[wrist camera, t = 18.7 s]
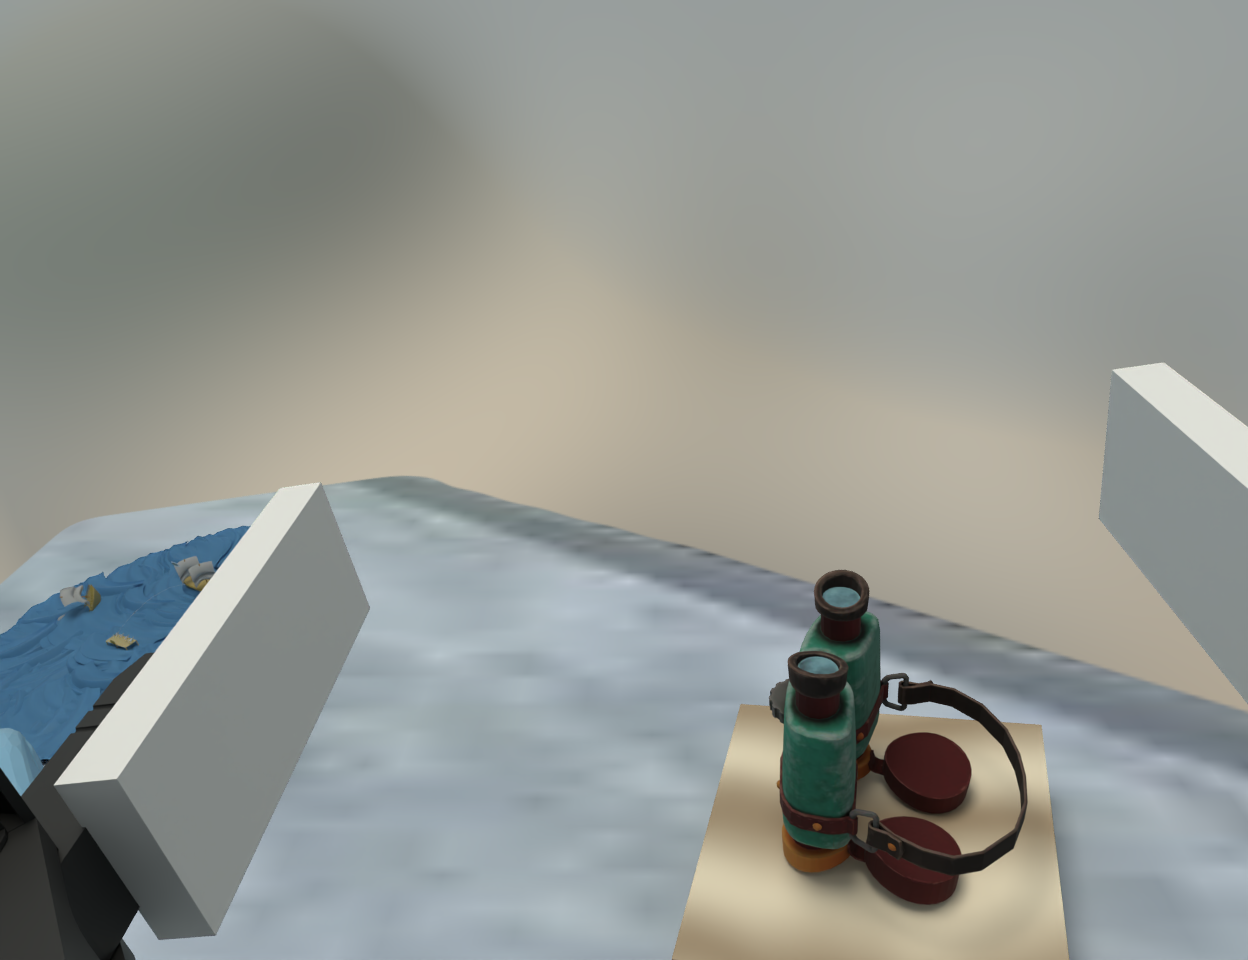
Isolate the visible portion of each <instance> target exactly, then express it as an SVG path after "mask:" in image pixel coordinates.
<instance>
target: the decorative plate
mask: <svg viewBox="0 0 1248 960" xmlns="http://www.w3.org/2000/svg"><path fill="white" fill-rule="evenodd" d="M250 527H251V526H241V527H239V528H234V529H233V528H228V529H225V530H223V531H220V532H217V533H216V534H214V535H211V534H208V535H207V536H205V537H201V536H197V537H196V538H195V539H194V540H191V541H190V542H189V543H187V542H185V543H183V544H178V545H173V546H172V547H171V548H170V549H165V550H164V551H160V552H157V553H150V554H149V555H148V556H145V557H140V558H138V559H137V560H135V561H134V562H132V563H130V564H127V565H123V566H120V567H118V568H117V569H116V570H114V571H113V572H112V573H111V574H109V575H108V577H107V578H105V576H104V572H102V573H101V574H99V575H96V576H92V577H89V578H88V579H87V580H86V581H85V582H83V583H80V584H79V585H75V586H73V587H68V588H64V589H62V590H61V591H60V593H57V594H54V595H52V596H51V597H50V598H48V599H47V600H46V601H44V602H42V603H40V604H37V605H35V606H33V607H31V608H30V609H29V610H28V611H27V612H26V613H25V614H24V615H23V616H22V618H20V619H19V620H18V622H17V623H16V625H14V626H13V627H12V628H11V629H9V630H8V631H7V632H5V633H2V634H1V635H0V729H1V728H11V729H13V730H16V731H19V732H21V734H22V735H23V736H24V737H25V739H26V740H27V741H28V742H29V743H30V744H31V745H32V747H33V748H34V750H35V751H36V753H37V755H38V757H39V759H40V761H43V760H50V759H51V758H52V756H53V755H54V754H55V753H56V751H57V750H58V749H59V748H60V746H61V745H62V744H63V743H64V741H65V740H66V739H67V737H68V736H69V735H70V734H71V733H75V732H76V729H75V727H76V726H77V725H78V724H79V722H80V721H81V720H82V718H83V717H84V716H85V715H86V713H87V712H88V711H93V705H94V703H95V702H96V701H97V700H98V698H99V697H100V696H101V694H102V693H103V692H104V691H105V689H106V688H107V687H108V686H109V684H110V683H111V682H112V681H113V679H114V678H115V677H117V676H118V675H119V674H120V673H122V672H123V671H124V670H125V669H127V668H128V667H129V666H130V665H132V664H133V663H134V662H135V661H137V660H138V659H139V658H140V657H142V656H143V655H144V654H145V653H153V652H155V651H156V650H157V649H158V647H159V646H160V645H161V644H162V642H163V641H164V640H165V638H166V637H167V636H168V634H169V633H170V632H171V630H172V629H173V628H174V626H175V625H176V624H177V623H178V621H179V620H180V619H181V617H182V616H183V615H184V613H185V612H186V611H187V609H188V608H189V607H190V605H191V604H192V603H193V602H194V600H195V599H196V598H197V596H198V595H199V594H200V592H201V591H202V590H203V588H204V587H205V586H206V584H207V583H208V582H209V581H210V579H211V578H212V577H213V575H214V574H215V573H216V571H217V570H218V569H219V567H220V566H221V565H222V563H223V562H224V561H225V560H226V558H227V557H228V556H229V554H230V553H231V552H232V550H233V549H234V548H235V546H236V545H237V544H238V542H239V541H240V540H241V539H242V537H243V536H244V535H245V533H246V532H247V531H248V529H249V528H250ZM186 543H187V544H186Z"/></svg>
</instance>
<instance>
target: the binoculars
mask: <svg viewBox="0 0 1248 960" xmlns="http://www.w3.org/2000/svg"><path fill="white" fill-rule="evenodd" d="M814 596H815V606H816V609H817V611H818V612H819V613H820V614H821V615H820V616H819V617H818V618H817V619H816V620H815V622H814V623H813V624H812V626H811V627H810V629H809V631H808V632H807V634H806V636H805V638H804V641H803V643H802V646H801V649H800V652H797V653H795V654H793V655H791V656H790V657H789V658H788V671H789V679H786V681H784V682H779V683H777V684H776V687H775V688H772V689H771V691H770V696H769V705H770V710H772V715H773V717H774V718H777V719H779V720H780V722H781V723H783V724H784V734H783V752H782V755H781V757H780V780H778V781H777V787H778V788H779V789H780V805H781V808H782V814H783V822H784V823H783V827H782V843H783V852H784V856H785V857H786V859H787V861H788V862H789V863H790V864H791V865H792V866H793V867H795V868H796V869H798V870H801V871H804V872H811V873H812V872H821V871H825V870H829V869H832V868H833V867H835V866H837V865H839V864H841V863H843V862H844V861H845V860H846V859H847V858H848V857H849V856H851V857H853V858H854V859H856V860H858V861H861V862H865V863H866V866H867V868H868V870H869V871H870V873H871V874H872V876H873V877H874V878H875V879H876V880H877V881H878V882H879V883H880V884H881V885H882V886H883V887H884V888H886V889H887V890H888V891H889V892H891V893H893V894H894V895H896V896H897V897H899V898H901V899H904V900H906V901H908V902H912V903H916V904H923V905H931V904H938V903H940V902H943V901H945V900H947V899H948V898H949V897H951V896H952V894H953V893H954V891H955V889H956V886H957V882H958V878H959V875H961V874H967V873H972V872H978V871H982V870H984V869H985V868H986V867H988V866H989V865H991V864H992V863H994V862H995V861H997V860H998V859H999V858H1001V857H1002V856H1004V855H1005V854H1007V853H1008V852H1010V851H1011V850H1012V849H1014V846H1015V844H1016V841H1017V838H1018V836H1019V833H1020V830H1021V828H1022V825H1023V822H1024V819H1025V814H1026V809H1027V804H1028V798H1027V782H1026V774H1025V770H1024V766H1023V762H1022V758H1021V755H1020V752H1019V750H1018V748H1017V746H1016V744H1015V742H1014V740H1013V738H1012V736H1011V735H1010V733H1009V731H1008V729H1007V728H1006V727H1005V726H1004V725H1003V724H1002V723H1001V722H1000V721H999V720H998V719H997V718H996V717H995V716H994V715H993V714H992V713H991V712H990V711H989V710H988V709H987V708H986V707H985V706H984V705H983V704H982V703H980V702H978V701H976V700H975V699H973V698H971V697H969V696H967V695H966V694H964V693H962V692H960V691H958V690H956V689H955V688H950V687H946V686H941V685H937V684H933V682H932V681H931V680H930V681H928V682H924V683H914V682H909V677H908V676H907V674H905V673H898V674H891V675H887V676H885V677H884V678H883V679H882V681H881V680H880V627H879V622H878V619H877V617H876V616H874V615H873V614H871V613H870V612H867V607H868V600H869V587H868V584H867V582H866V581H865V580H864V579H863V577H861V576H860V575H858V574H857V573H854V572H852V571H847V570H835V571H832V572H828V573H826V574H825V575H823V576H822V577H821V578H820V579H819V580H818V581H817V583H816V585H815V589H814ZM900 678H903V679H904V680H903V681H900V682H899V689H898V703H900V704H902V706H900V705H896V704H893V703H890V702H888V701H887V698H888V685H889V683H888V681H889V680H890V679H900ZM923 702H934V703H938V704H943V705H947V706H951V707H953V708H955V709H957V710H959V711H960V712H962V713H964V714H966V715H967V716H969V717H971V718H973V719H974V720H976V721H978V722H979V723H980V724H981V725H982V726H983V727H984V728H985V729H986V730H987V731H988V732H989V733H990V734H991V735H992V736H993V737H994V738H995V739H996V740H997V741H998V742H999V743H1000V744H1001V746H1002V747H1003V749H1004V751H1005V753H1006V755H1007V757H1008V759H1009V761H1010V763H1011V765H1012V767H1013V769H1014V771H1015V775H1016V779H1017V783H1018V787H1019V791H1020V802H1021V812H1020V814H1019V817H1018V820H1017V823H1016V825H1015V828H1014V830H1012V831H1011V832H1009V833H1008V834H1006V835H1005V836H1003V837H1002V838H1000V839H999V840H997V841H996V842H994V843H993V844H991V845H990V846H989V847H987V848H986V849H984V850H983V851H978V852H972V853H967V854H961V850H960V848H959V846H958V844H957V843H956V841H955V840H954V838H953V837H952V836H951V835H950V834H949V833H948V832H946V831H945V830H944V829H943V828H941V827H940V826H938V825H936V824H934V823H932V822H930V821H927V820H925V819H921V818H917V817H908V816H898V817H890V818H885V819H883V820H880V821H879V817H878V815H877V814H876V813H874V812H872V811H867V810H861V809H856V795H857V780H859V779H861V778H863V777H865V776H866V775H867V774H868V773H869V772H870V771H872V772H874V773H876V774H880V775H883V776H884V779H885V781H886V783H887V784H888V786H889V787H890V789H891V790H892V791H893V792H894V793H895V794H896V796H897V797H899V798H900V799H901V800H902V801H903V802H905V803H906V804H908V805H909V806H911V807H913V808H915V809H917V810H920V811H922V812H926V813H931V814H941V813H946V812H950V811H952V810H954V809H956V808H957V807H958V806H959V805H961V804H962V802H963V801H964V799H965V797H966V794H967V790H968V787H969V783H970V780H971V776H972V768H971V764H970V761H969V759H968V757H967V755H966V753H965V752H964V751H963V750H962V749H961V747H960V746H958V745H957V744H956V743H955V742H953V741H952V740H950V739H948V738H946V737H944V736H941V735H939V734H935V733H929V732H917V733H910V734H907V735H903V736H900V737H899V738H897V739H895V740H893V741H892V742H891V743H890V744H889V745H888V747H887V749H886V751H885V755H884V760H883V759H879V758H877V757H876V756H875V754H874V750H871V747H870V745H869V742H870V739H871V737H872V735H873V732H874V730H875V727H876V725H877V723H878V718H879V708H880V706H881V704H882V703H883V704H884V705H885V706H886V707H889V708H893V709H896V710H899V711H903V710H905V709H906V708H907V704H917V703H923ZM857 815H861V816H865V817H870V818H872V819H873V820H871V821H870V822H869V823H868V835H867V840H866V843H865V842H864V841H862V840H860V839H859V838H858V837H857V836H856V834H857V832H858V817H857Z"/></svg>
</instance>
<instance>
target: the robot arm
mask: <svg viewBox="0 0 1248 960" xmlns="http://www.w3.org/2000/svg"><path fill="white" fill-rule="evenodd" d="M1099 519H1100V520H1101V521H1102V523H1103V524H1104V525H1105V527H1106V528H1107V529H1108V530H1109V532H1110V533H1111V534H1112V536H1113V537H1114V538H1115V539H1116V540H1117V542H1118V543H1119V544H1120V545H1121V547H1122V548H1123V549H1124V550H1125V552H1126V553H1127V554H1128V555H1129V557H1130V558H1131V559H1132V560H1133V562H1134V563H1135V564H1136V565H1137V566H1138V568H1139V569H1140V570H1141V572H1142V573H1143V574H1144V575H1145V576H1146V578H1147V579H1148V580H1149V581H1150V583H1151V584H1152V585H1153V587H1154V588H1155V589H1156V590H1157V592H1158V593H1159V594H1160V595H1161V596H1162V598H1163V599H1164V600H1165V601H1166V603H1167V604H1168V605H1169V606H1170V608H1171V609H1172V610H1173V611H1174V613H1175V614H1176V615H1177V616H1178V618H1179V619H1180V620H1181V621H1182V623H1183V624H1184V625H1185V626H1186V628H1187V629H1188V630H1189V631H1190V633H1191V634H1192V635H1193V636H1194V638H1195V639H1196V640H1197V641H1198V642H1199V644H1200V645H1201V646H1202V648H1203V649H1204V650H1205V651H1206V653H1207V654H1208V655H1209V656H1210V657H1211V659H1212V660H1213V661H1214V662H1215V664H1216V665H1217V666H1218V667H1219V669H1220V670H1221V671H1222V672H1223V673H1224V675H1225V676H1226V677H1227V679H1228V680H1229V681H1230V682H1231V684H1232V685H1233V686H1234V687H1235V689H1236V690H1237V691H1238V692H1239V694H1240V695H1241V696H1242V697H1243V699H1244V700H1245V701H1246V702H1247V704H1248V427H1247V426H1246V425H1244V424H1243V423H1242V422H1241V421H1239V420H1238V419H1237V418H1235V417H1234V416H1233V415H1231V414H1230V413H1229V412H1227V411H1226V410H1225V409H1224V408H1222V407H1221V406H1220V405H1218V404H1217V403H1215V402H1214V401H1213V400H1212V399H1211V398H1209V397H1208V396H1207V395H1205V394H1204V393H1203V392H1201V391H1200V390H1199V389H1198V388H1196V387H1195V386H1194V385H1192V384H1191V383H1190V382H1188V381H1187V380H1186V379H1185V378H1183V377H1182V376H1180V375H1179V374H1178V373H1177V372H1175V371H1174V370H1173V369H1172V368H1170V367H1169V366H1168V365H1166V364H1165V363H1157V364H1150V365H1144V366H1136V367H1129V368H1122V369H1115V370H1112V376H1111V387H1110V399H1109V410H1108V421H1107V432H1106V443H1105V455H1104V466H1103V478H1102V488H1101V500H1100V511H1099ZM369 610H370V606H369V604H368V601H367V599H366V596H365V594H364V591H363V588H362V586H361V583H360V581H359V578H358V576H357V573H356V571H355V568H354V565H353V563H352V560H351V558H350V555H349V553H348V550H347V547H346V545H345V542H344V540H343V537H342V535H341V532H340V530H339V527H338V524H337V522H336V519H335V517H334V514H333V512H332V509H331V507H330V504H329V501H328V499H327V496H326V494H325V491H324V489H323V486H322V484H321V482H320V483H313V484H305V485H298V486H291V487H284V488H280V489H279V490H278V491H277V493H276V494H275V495H274V496H273V498H272V499H271V500H270V502H269V503H268V504H267V506H266V507H265V508H264V510H263V511H262V512H261V514H260V515H259V516H258V517H257V519H256V520H255V521H254V523H253V524H252V525H251V527H250V528H249V529H248V531H247V532H246V533H245V535H244V536H243V537H242V539H241V540H240V541H239V542H238V544H237V545H236V546H235V548H234V549H233V550H232V552H231V553H230V554H229V556H228V557H227V558H226V560H225V561H224V562H223V563H222V565H221V566H220V567H219V569H218V570H217V571H216V573H215V574H214V575H213V577H212V578H211V579H210V581H209V582H208V583H207V584H206V586H205V587H204V588H203V590H202V591H201V592H200V594H199V595H198V596H197V598H196V599H195V600H194V602H193V603H192V604H191V605H190V607H189V608H188V609H187V611H186V612H185V613H184V615H183V616H182V617H181V619H180V620H179V621H178V623H177V624H176V625H175V626H174V628H173V629H172V630H171V632H170V633H169V634H168V636H167V637H166V638H165V640H164V641H163V642H162V644H161V645H160V646H159V647H158V649H157V650H156V651H155V652H153V653H145V654H144V655H143V656H142V657H140V658H139V659H138V660H137V661H135V662H134V663H133V664H132V665H130V666H129V667H128V668H127V669H125V670H124V671H123V672H122V673H120V674H119V675H118V676H117V677H115V678H114V679H113V681H112V682H111V683H110V684H109V686H108V687H107V688H106V689H105V691H104V692H103V693H102V694H101V696H100V697H99V698H98V700H97V701H96V702H95V703H94V705H93V711H88V712H87V713H86V715H85V716H84V717H83V718H82V720H81V721H80V722H79V724H78V725H77V726H76V727H75V729H76V732H75V733H71V734H70V735H69V736H68V737H67V739H66V740H65V741H64V743H63V744H62V745H61V746H60V748H59V749H58V750H57V751H56V753H55V754H54V755H53V756H52V758H51V759H50V760H49V761H48V763H47V764H46V765H45V767H43V765H42V763H41V761H40V759H39V757H38V755H37V753H36V751H35V750H34V748H33V747H32V745H31V744H30V743H29V742H28V741H27V740H26V739H25V737H24V736H23V735H22V734H21V732H19V731H16V730H13V729H11V728H1V729H0V960H135V957H134V954H133V953H132V952H131V950H130V949H129V947H128V946H127V945H126V943H125V942H124V940H123V939H122V937H123V936H124V934H125V932H126V930H127V929H128V927H129V925H130V923H131V922H132V920H133V918H134V916H135V915H136V913H137V911H138V910H139V911H140V913H141V914H142V916H143V917H144V919H145V920H146V922H147V923H148V925H149V926H150V928H151V929H152V931H153V932H154V933H155V935H156V936H157V938H158V939H159V940H164V939H177V938H190V937H202V936H215V935H216V934H217V932H218V929H219V927H220V925H221V923H222V921H223V919H224V917H225V915H226V912H227V910H228V908H229V906H230V904H231V902H232V900H233V898H234V896H235V893H236V891H237V889H238V887H239V885H240V883H241V881H242V879H243V876H244V874H245V872H246V870H247V868H248V866H249V864H250V862H251V860H252V857H253V855H254V853H255V851H256V849H257V847H258V845H259V843H260V840H261V838H262V836H263V834H264V832H265V830H266V828H267V826H268V824H269V821H270V819H271V817H272V815H273V813H274V811H275V809H276V807H277V804H278V802H279V800H280V798H281V796H282V794H283V792H284V790H285V788H286V785H287V783H288V781H289V779H290V777H291V775H292V773H293V771H294V768H295V766H296V764H297V762H298V760H299V758H300V756H301V754H302V752H303V749H304V747H305V745H306V743H307V741H308V739H309V737H310V735H311V732H312V730H313V728H314V726H315V724H316V722H317V720H318V718H319V716H320V713H321V711H322V709H323V707H324V705H325V703H326V701H327V699H328V696H329V694H330V692H331V690H332V688H333V686H334V684H335V682H336V680H337V677H338V675H339V673H340V671H341V669H342V667H343V665H344V663H345V660H346V658H347V656H348V654H349V652H350V650H351V648H352V646H353V644H354V641H355V639H356V637H357V635H358V633H359V631H360V629H361V627H362V624H363V622H364V620H365V618H366V616H367V614H368V612H369Z"/></svg>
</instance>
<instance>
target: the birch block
mask: <svg viewBox="0 0 1248 960" xmlns="http://www.w3.org/2000/svg"><path fill="white" fill-rule="evenodd" d="M1001 723H1002V724H1003V725H1004V726H1005V727H1006V728H1007V729H1008V731H1009V733H1010V735H1011V736H1012V738H1013V740H1014V742H1015V744H1016V746H1017V748H1018V750H1019V752H1020V755H1021V758H1022V762H1023V766H1024V770H1025V774H1026V782H1027V798H1028V804H1027V809H1026V814H1025V819H1024V822H1023V825H1022V828H1021V830H1020V833H1019V836H1018V838H1017V841H1016V844H1015V846H1014V849H1012V850H1011V851H1010V852H1008V853H1007V854H1005V855H1004V856H1002V857H1001V858H999V859H998V860H997V861H995V862H994V863H992V864H991V865H989V866H988V867H986V868H985V869H984V870H982V871H978V872H972V873H967V874H961V875H959V878H958V882H957V886H956V889H955V891H954V893H953V894H952V896H951V897H949V898H948V899H947V900H945V901H943V902H940V903H938V904H931V905H923V904H916V903H912V902H908V901H906V900H904V899H901V898H899V897H897V896H896V895H894V894H893V893H891V892H889V891H888V890H887V889H886V888H884V887H883V886H882V885H881V884H880V883H879V882H878V881H877V880H876V879H875V878H874V877H873V876H872V874H871V873H870V871H869V870H868V868H867V866H866V863H865V862H861V861H858V860H856V859H854V858H853V857H851V856H849V857H848V858H847V859H846V860H845V861H844V862H843V863H841V864H839V865H837V866H835V867H833V868H832V869H829V870H825V871H821V872H812V873H811V872H804V871H801V870H798V869H796V868H795V867H793V866H792V865H791V864H790V863H789V862H788V861H787V859H786V857H785V856H784V852H783V843H782V827H783V823H784V822H783V814H782V808H781V805H780V789H779V788H778V787H777V781H778V780H780V757H781V755H782V752H783V734H784V724H783V723H781V722H780V720H779V719H777V718H774V717H773V715H772V710H770V706H760V705H745V704H741V705H740V709H739V712H738V716H737V720H736V723H735V727H734V731H733V734H732V738H731V742H730V746H729V749H728V753H727V757H726V760H725V764H724V768H723V771H722V775H721V779H720V783H719V786H718V790H717V794H716V797H715V801H714V805H713V808H712V812H711V816H710V820H709V823H708V827H707V831H706V834H705V838H704V842H703V845H702V849H701V853H700V857H699V860H698V864H697V868H696V871H695V875H694V879H693V882H692V886H691V890H690V894H689V897H688V901H687V905H686V908H685V912H684V916H683V919H682V923H681V927H680V930H679V934H678V938H677V942H676V945H675V949H674V953H673V956H672V960H1069V954H1068V945H1067V937H1066V928H1065V920H1064V912H1063V903H1062V895H1061V886H1060V878H1059V870H1058V861H1057V853H1056V844H1055V836H1054V827H1053V819H1052V811H1051V802H1050V794H1049V785H1048V777H1047V768H1046V760H1045V752H1044V743H1043V735H1042V726H1041V725H1035V724H1020V723H1006V722H1001ZM917 732H929V733H935V734H939V735H941V736H944V737H946V738H948V739H950V740H952V741H953V742H955V743H956V744H957V745H958V746H960V747H961V749H962V750H963V751H964V752H965V753H966V755H967V757H968V759H969V761H970V764H971V768H972V776H971V780H970V783H969V787H968V790H967V794H966V797H965V799H964V801H963V802H962V804H961V805H959V806H958V807H957V808H956V809H954V810H952V811H950V812H946V813H941V814H931V813H926V812H922V811H920V810H917V809H915V808H913V807H911V806H909V805H908V804H906V803H905V802H903V801H902V800H901V799H900V798H899V797H897V796H896V794H895V793H894V792H893V791H892V790H891V789H890V787H889V786H888V784H887V783H886V781H885V779H884V776H883V775H880V774H876V773H874V772H872V771H870V772H869V773H868V774H867V775H866V776H865V777H863V778H861V779H859V780H857V795H856V809H861V810H867V811H872V812H874V813H876V814H877V815H878V817H879V821H880V820H883V819H885V818H890V817H898V816H908V817H917V818H921V819H925V820H927V821H930V822H932V823H934V824H936V825H938V826H940V827H941V828H943V829H944V830H945V831H946V832H948V833H949V834H950V835H951V836H952V837H953V838H954V840H955V841H956V843H957V844H958V846H959V848H960V850H961V854H967V853H972V852H978V851H983V850H984V849H986V848H987V847H989V846H990V845H991V844H993V843H994V842H996V841H997V840H999V839H1000V838H1002V837H1003V836H1005V835H1006V834H1008V833H1009V832H1011V831H1012V830H1014V828H1015V825H1016V823H1017V820H1018V817H1019V814H1020V812H1021V802H1020V791H1019V787H1018V783H1017V779H1016V775H1015V771H1014V769H1013V767H1012V765H1011V763H1010V761H1009V759H1008V757H1007V755H1006V753H1005V751H1004V749H1003V747H1002V746H1001V744H1000V743H999V742H998V741H997V740H996V739H995V738H994V737H993V736H992V735H991V734H990V733H989V732H988V731H987V730H986V729H985V728H984V727H983V726H982V725H981V724H980V723H979V722H978V721H976V720H962V719H948V718H933V717H919V716H905V715H890V714H879V718H878V723H877V725H876V727H875V730H874V732H873V735H872V737H871V739H870V742H869V745H870V747H871V750H874V754H875V756H876V757H877V758H879V759H883V760H884V755H885V751H886V749H887V747H888V745H889V744H890V743H891V742H892V741H893V740H895V739H897V738H899V737H900V736H903V735H907V734H910V733H917ZM857 817H858V832H857V834H856V836H857V837H858V838H859V839H860V840H862V841H864V842H865V843H866V840H867V835H868V823H869V822H870V821H871V820H873V819H872V818H870V817H865V816H861V815H857Z"/></svg>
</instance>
